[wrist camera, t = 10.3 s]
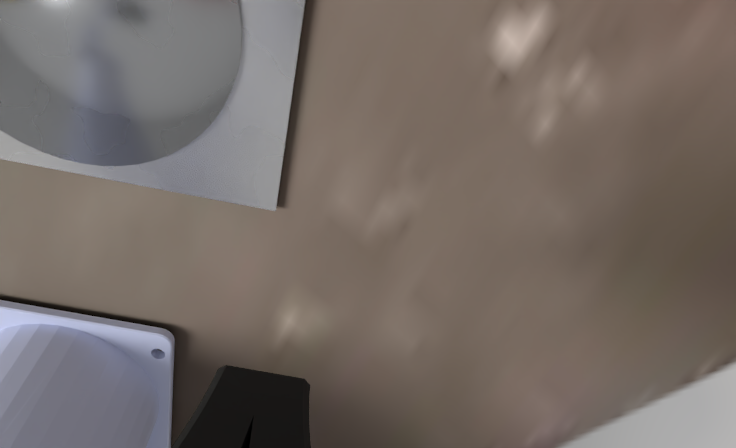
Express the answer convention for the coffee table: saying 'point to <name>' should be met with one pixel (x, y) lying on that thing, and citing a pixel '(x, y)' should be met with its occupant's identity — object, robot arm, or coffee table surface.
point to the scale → (152, 91)
